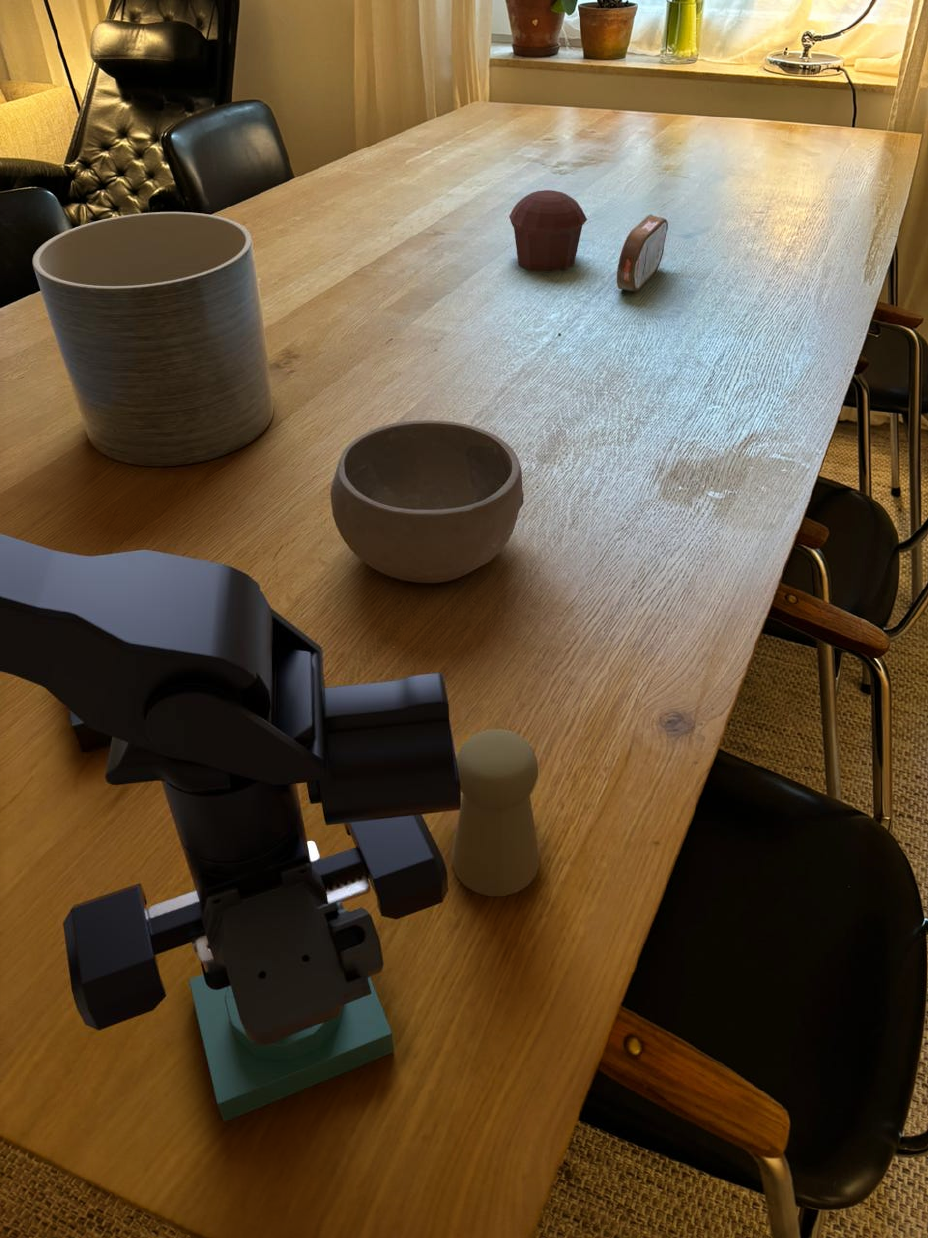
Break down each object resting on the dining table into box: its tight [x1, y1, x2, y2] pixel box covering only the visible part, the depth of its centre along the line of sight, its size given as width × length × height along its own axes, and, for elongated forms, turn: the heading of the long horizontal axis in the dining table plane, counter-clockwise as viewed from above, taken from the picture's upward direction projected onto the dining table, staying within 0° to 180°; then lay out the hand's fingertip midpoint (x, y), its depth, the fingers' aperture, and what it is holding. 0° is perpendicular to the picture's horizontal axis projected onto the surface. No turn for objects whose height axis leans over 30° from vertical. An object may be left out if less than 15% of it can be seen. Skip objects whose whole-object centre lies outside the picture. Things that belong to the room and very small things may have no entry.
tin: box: [616, 214, 669, 292], centre depth 143 cm, size 15×3×8 cm, turn 153°
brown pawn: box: [451, 728, 541, 897], centre depth 64 cm, size 6×6×11 cm
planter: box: [32, 211, 274, 467], centre depth 109 cm, size 22×22×20 cm
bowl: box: [330, 419, 525, 584], centre depth 92 cm, size 17×18×10 cm
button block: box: [188, 973, 395, 1123], centre depth 58 cm, size 10×8×4 cm
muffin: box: [508, 189, 588, 273], centre depth 149 cm, size 12×11×10 cm
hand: (282, 988), depth 56 cm, fingers closed, pressing on button
